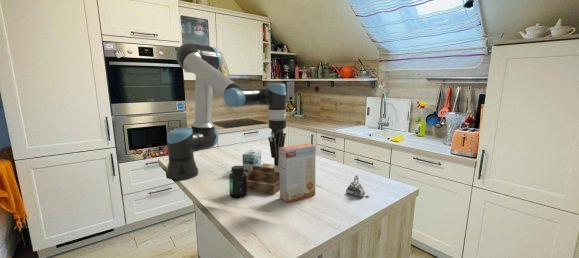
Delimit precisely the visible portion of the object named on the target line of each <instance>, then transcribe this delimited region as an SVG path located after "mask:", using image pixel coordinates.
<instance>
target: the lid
mask: <svg viewBox="0 0 579 258" xmlns="http://www.w3.org/2000/svg"><path fill="white" fill-rule="evenodd" d="M251 172H258V173H265V174H272V175H279V172H274V164H272V163H261V165H259V166H253V169H252V170H251Z"/></svg>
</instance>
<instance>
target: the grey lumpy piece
mask: <svg viewBox="0 0 579 258" xmlns="http://www.w3.org/2000/svg"><path fill="white" fill-rule="evenodd" d="M345 192H346V194H347V193H348V194H351V195H354V196H357V197H361V198H362V196H370V193H369V194H368V193H366V191H365V189H364V187H362V185H361V183H359V177H358V175H355V176H354V177H353V181H352V182H351V183H350V184H349V185H348V187H347V188H346V189H345Z"/></svg>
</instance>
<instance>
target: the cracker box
mask: <svg viewBox="0 0 579 258" xmlns="http://www.w3.org/2000/svg"><path fill="white" fill-rule="evenodd" d="M279 177H280V190H279V198H280V199H281V200H282V201H284V202H285V203H290V202H294V201H298V200H301V199H302V200H303V199H305V198H309V197H312V196H316V145H314V144H311V143H302V144H294V145H289V146H288V145H287V146H284V147H280V148H279Z"/></svg>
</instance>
